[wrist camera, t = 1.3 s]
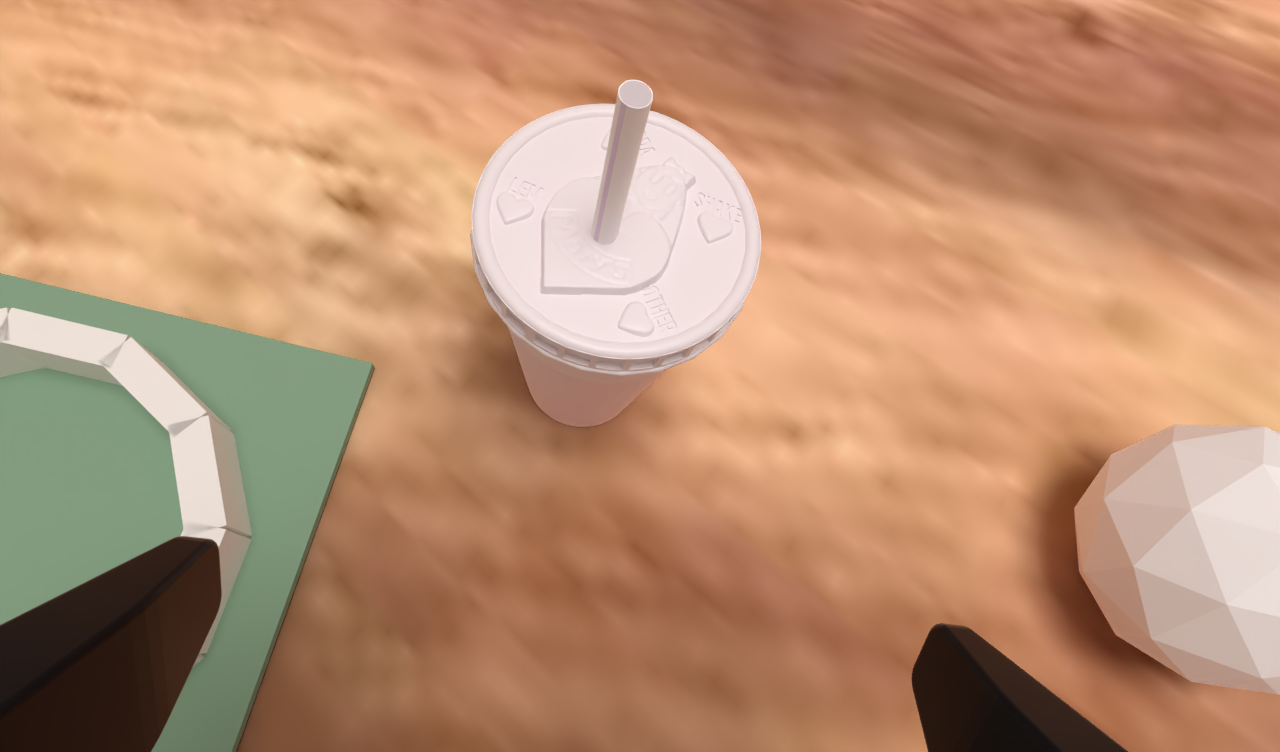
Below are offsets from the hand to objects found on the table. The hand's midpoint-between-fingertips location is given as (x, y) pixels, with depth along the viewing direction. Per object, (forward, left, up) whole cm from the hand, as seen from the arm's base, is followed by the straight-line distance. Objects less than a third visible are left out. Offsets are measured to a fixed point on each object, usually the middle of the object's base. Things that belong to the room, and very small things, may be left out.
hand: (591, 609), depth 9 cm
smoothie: (+8, +1, -14) cm, 16 cm away
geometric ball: (+6, -19, -14) cm, 24 cm away
